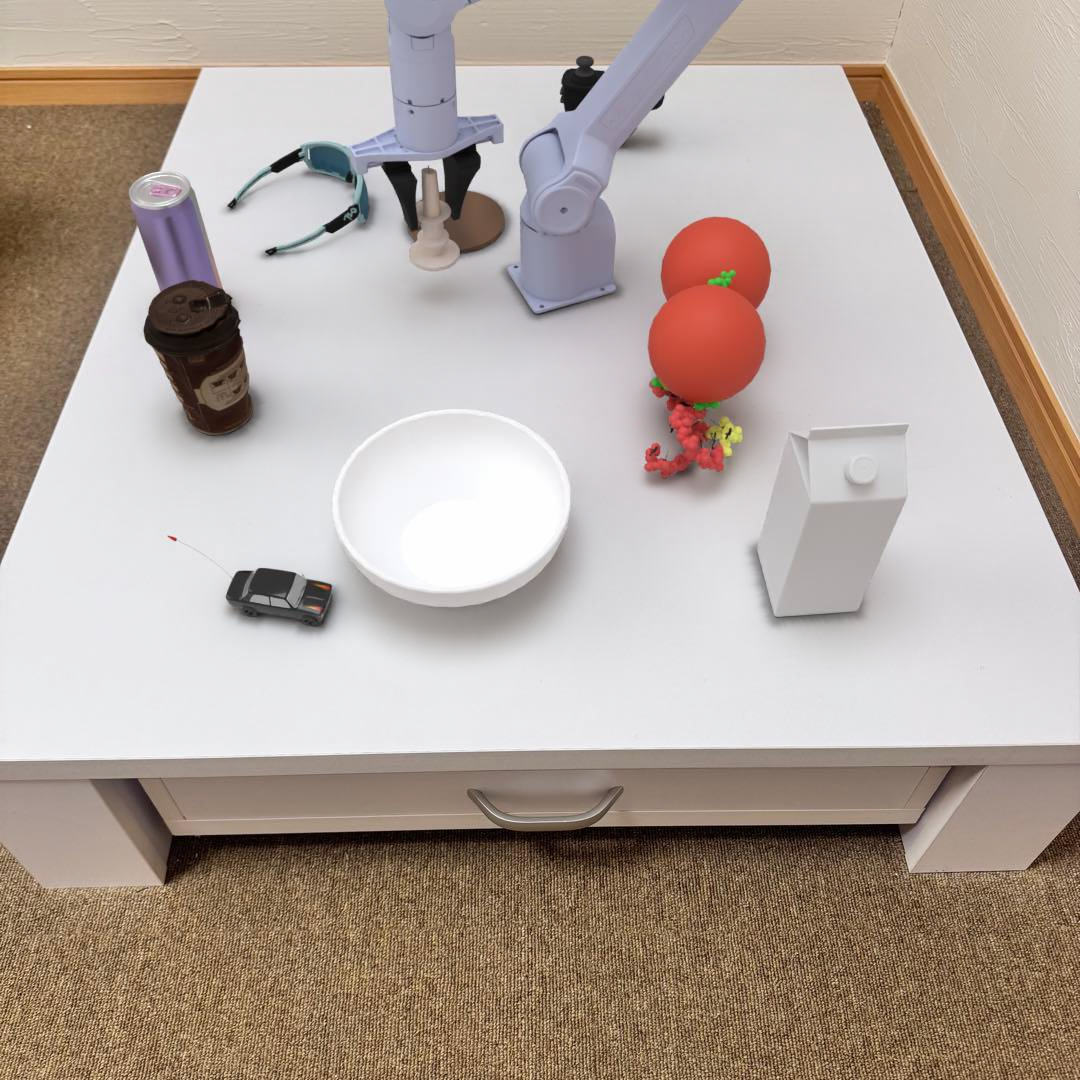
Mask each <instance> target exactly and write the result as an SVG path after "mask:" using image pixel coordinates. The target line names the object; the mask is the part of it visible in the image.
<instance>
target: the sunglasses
mask: <svg viewBox="0 0 1080 1080" xmlns="http://www.w3.org/2000/svg"><path fill="white" fill-rule="evenodd" d="M300 162H304V163H305V164H306V167H307V168H308V169H309V170H310V171H312V172H313V173H320V174H323V175H328V176H331V177H334V178H337V179H339V180H342V181H345V182H346V183H349V184H350V183H351V184H352V183H353V187H354V193H353V199H352V201H353V202H352V204H351V205H349V206H348V207H347V209H345V211H343V212H341V213H340V214H339V215H338V216H336V217H335V218H333V219H332V220H330V221H328V222H327V223H325V224H323V225H321V227H319V228H317V230H315V231H314V232H312V233H310V234H308V235H306V236H303V237H301V238H299V239H297V240H295V241H292V242H289V243H285V244H282V245H278V246H277V245H276V246H274V247H271V248H268V249H266V250H264V253H266V254H267V255H269V256H272V255H274V254H277V253H281V252H285V251H289V250H293V249H296V248H298V247H302V246H304V245H306V244H308V243H311V242H313V241H314V240H317V239H318V238H320V237H321V236H323V235H324V234H325V233H328V234H335V233H336V232H338V231H340V230H342V229H343V228H344V227H347V225H349V224H351V223H352V222H354V221H355V220H356V219H357V222H358V223H366V222H367V220H368V217H369V212H370V198H369V192H368V186H367V183H366V181H365V178H364V174H362V175H357V174H356V172H355V170H354V169H353V167H352V165H351V160H350V153H349V146H348V145H343V144H341V143H337V142H334V141H329V140H317V141H310V142H305V143H302V144H300V145H299V148H296V149H295V150H293V151H291V152H289V153H288V154H286V155H284V156H282V157H280V158H279V159H277V160H276V161H274V162H273V163H271V164H270V165H268V166H266V167H264V168H262V169H260V170H259V171H257V173H256V174H255V175H254V176H252V178H250V179H249V180H248V181H246V183H244V185H243V186H242V187H241V188H240V189H239V190H238V192H237V193H236V195H235V196H234V198H233V199H232V200H231V201H230V202H229V203H228V204H227V206H226V207H227V208H228V209H229V208H230V209H233V208H234V207H235V206H237V204H238V203H239V202H240V200H241V199H242V197H244V195H245V194H246V193H247V192H248V191H249V190H250V189H251V188H252V187H253V186H254V185H255V184H257V183H258V182H259V181H261V180H262V179H263V178H265V177H267V176H269V175H270V174H272V173H274V174H279V173H281V172H282V171H285V170H286V169H288V168H289V167H291V166H293V165H294V164H297V163H300Z"/></svg>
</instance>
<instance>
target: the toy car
mask: <svg viewBox="0 0 1080 1080" xmlns="http://www.w3.org/2000/svg"><path fill="white" fill-rule="evenodd" d="M167 538H168V539H170V540H171V541H173V542H175V543H176V542H178V543H181V544H183V545H185V546H187V547H188V548H191V549H193V550H195V551H197V552H198V553H200V554H201V555H203V556H204V557H206V558H207V559H208V560H210V561H212V563H214V564H215V565H216V566H218V567H220V569H222V570H223V571H224V572H225V573H226V574H227V575H228V577H230V578H231V581H230V583H229V586H228V588H227V591H226V593H225V599H226V601H227V603H228V604H229V605H230V606H231V607H232V608H235V609H239V610H241V612H242V613H243V614H244V615H245V616H247V617H248V616H249V617H256V616H258V613H259V614H261V613H262V614H267V615H271V616H276V617H277V616H278V617H283V618H290V619H296V620H300V621H302V622H303V623H304V624H305V625H307V626H311V627H315V626H317V625H318V624H321V623H323V622H324V621H325V619H326V617H327V614H328V612H329V610H330V606H331V603H332V599H333V585H332V584H331V583H329V582H325V581H321V580H315V579H310V578H305V575H304V574H303V572H302V573H301V575H300V574H298V573H297V572H294V571H290V570H284V569H278V568H271V567H270V568H269V567H258V568H256V569H255V570H246V569H245V570H244V569H243V570H238V571H236V572H235V573H234V575H233V577H232V576H231V575H230V574H229V573H228V572H227V571H226V570H225V569H224V568H222V566H220V565H219V564H218V563H216V562H215V561H214V560H212V559H211V558H210V557H208V556H207V555H205V554H204V553H202V552H201V551H199V550H198V549H195V548H194V547H192V546H191V545H188V544H187V543H185V542H182V541H180V540H178V538H177V537H175V536H172V535H167Z"/></svg>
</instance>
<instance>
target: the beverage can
mask: <svg viewBox="0 0 1080 1080" xmlns="http://www.w3.org/2000/svg"><path fill="white" fill-rule="evenodd" d="M128 197H129V204H130V205H129V206H130V209H131V212H132V214H133V217H134V220H135V223H136V226H137V229H138V232H139V234H140V238H141V239H142V242H143V245H144V248H145V251H146V254H147V257H148V260H149V263H150V266H151V268H152V269H151V270H152V271H153V274H154V276H155V280H156V283H157V286H158V289H159V292H161V291H163V290H164V289H166V288H168V287H169V286H172V285H175V284H178V283H181V282H184V281H188V280H197V281H204V282H206V283H208V284H210V285H213V286H215V287H217V288H221V289H223V290H224V288H223V284H222V281H221V278H220V274H219V270H218V268H217V267H218V266H217V264H216V259H215V257H214V253H213V250H212V246H211V243H210V239H209V236H208V233H207V230H206V225H205V223H204V218H203V216H202V212H201V208H200V206H199V202H198V198H197V195H196V191H195V189H194V188H193V187H192V185H191V182H190V180H189V178H187V176H186V175H183V174H182V173H178V172H176V171H168V170H167V171H166V170H165V171H163V170H162V171H155V172H151V173H148V174H145V175H142V176H141V177H139V178H137V180H135V181H134V182H133V183H132V184H131V185H130V187H129V190H128Z"/></svg>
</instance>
